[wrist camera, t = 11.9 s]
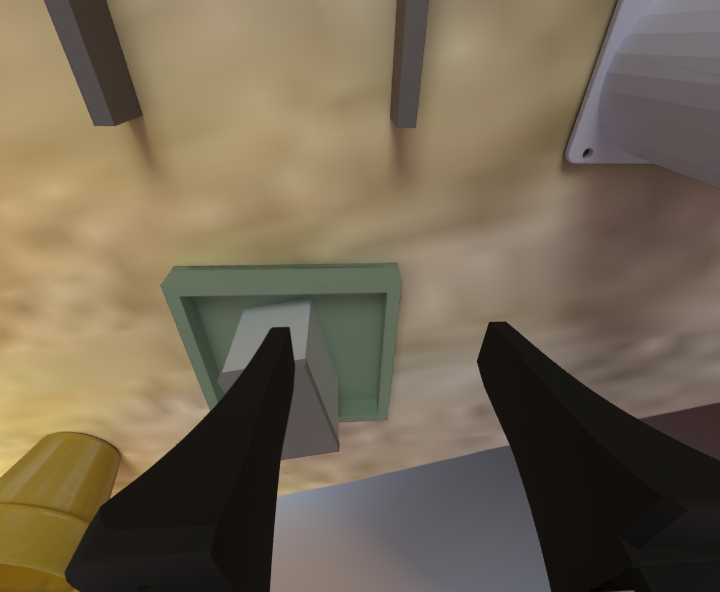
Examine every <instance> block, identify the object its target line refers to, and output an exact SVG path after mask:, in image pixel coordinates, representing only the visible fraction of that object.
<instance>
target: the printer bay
mask: <svg viewBox="0 0 720 592" xmlns="http://www.w3.org/2000/svg"><path fill="white" fill-rule="evenodd" d="M44 2H45V4H46V7H47V9H48V12H49V14H50V17H51V19H52V21H53V24H54V26H55V29H56V31H57V34H58V36H59V39H60V41H61V44H62V46H63V49H64V51H65V54H66V56H67V59H68V61H69V64H70V66H71V69H72V71H73V74H74V76H75V79H76V81H77V84H78V86H79V89H80V91H81V94H82V96H83V99H84V101H85V104H86V106H87V109H88V111H89V114H90V116H91V119H92V121H93V124H94V126H116V125H119V124H121V123H124V122H127V121H129V120H132V119H135V118H137V117H140V116H143V115H142V112H141V109H140V106H139V103H138V100H137V97H136V94H135V90H134V87H133V84H132V81H131V78H130V75H129V72H128V69H127V66H126V62H125V59H124V56H123V53H122V50H121V47H120V44H119V41H118V37H117V34H116V31H115V28H114V25H113V22H112V19H111V16H110V13H109V9H108V6H107V3H106V0H44ZM428 3H429V0H397V8H396V25H395V41H394V58H393V75H392V91H391V108H390V118H391V120H392V121H393V123H394V124H395V125H396V127H397V128H416V121H417V111H418V101H419V92H420V82H421V72H422V62H423V52H424V42H425V33H426V23H427V13H428Z"/></svg>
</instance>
